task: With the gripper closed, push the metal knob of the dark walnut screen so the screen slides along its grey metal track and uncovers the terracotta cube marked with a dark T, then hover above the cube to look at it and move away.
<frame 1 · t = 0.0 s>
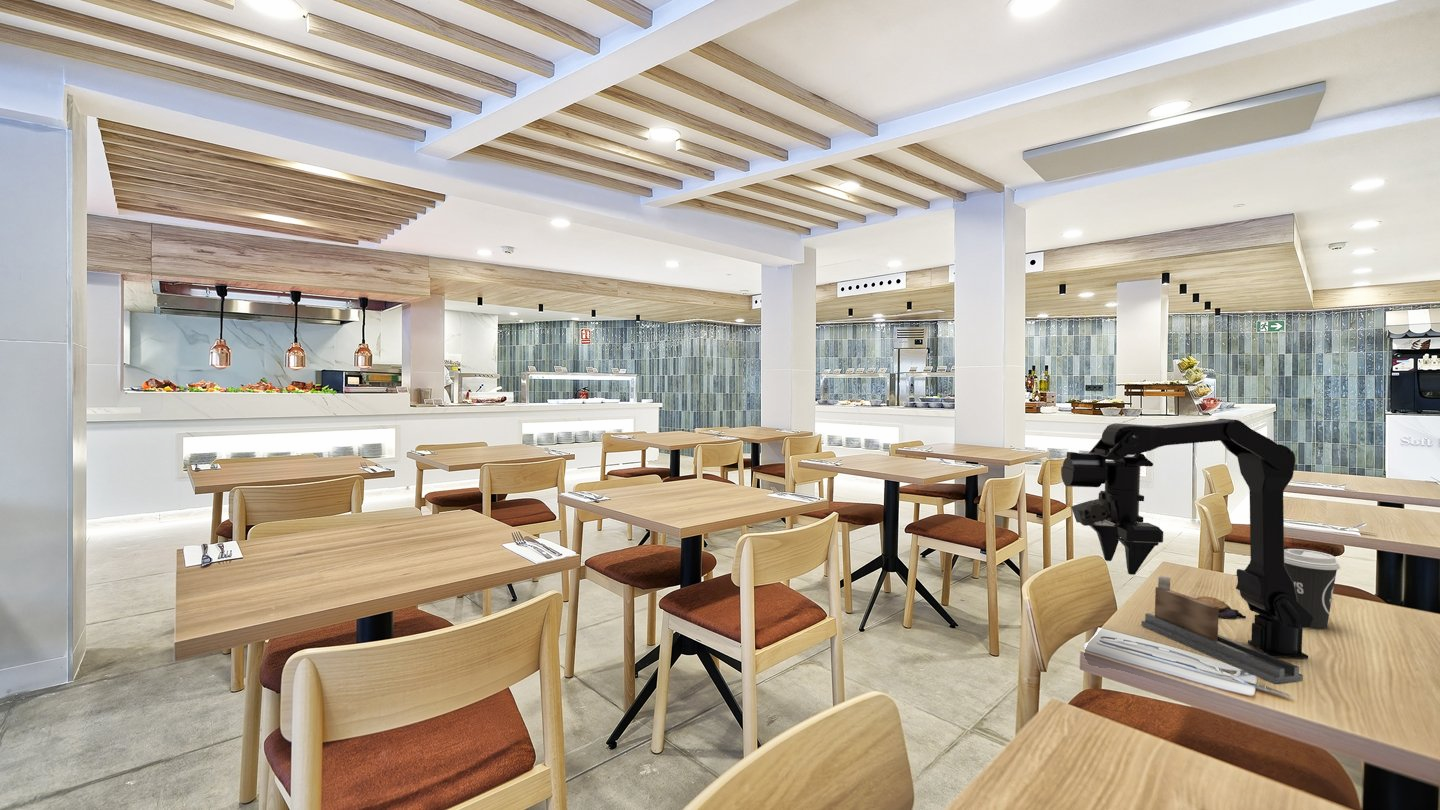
hand: (1119, 567, 122), 15 cm above the table, tool pointing down, fingers open, 9 cm apart
lettered cube: (1184, 625, 132), on the table
screen: (1185, 608, 125), point 6 cm above the table, slide at 0.0 cm
coffee cup: (1306, 624, 133), on the table
track: (1184, 637, 125), on the table
bread roll: (1211, 615, 140), on the table
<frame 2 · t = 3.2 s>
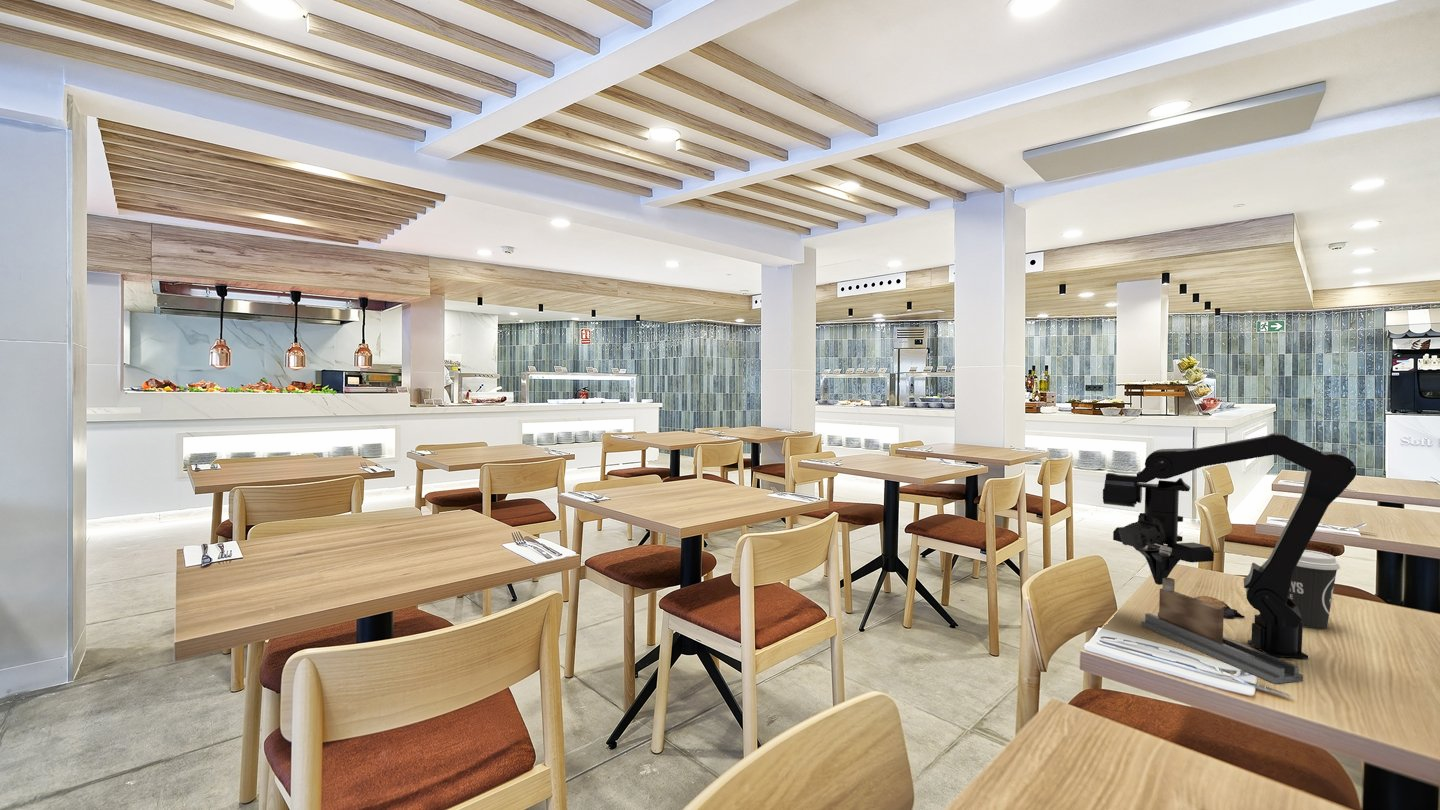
hand: (1159, 584, 130), 9 cm above the table, tool pointing down, fingers closed
screen: (1189, 609, 124), point 6 cm above the table, slide at 1.0 cm, touching gripper
everything else where it was.
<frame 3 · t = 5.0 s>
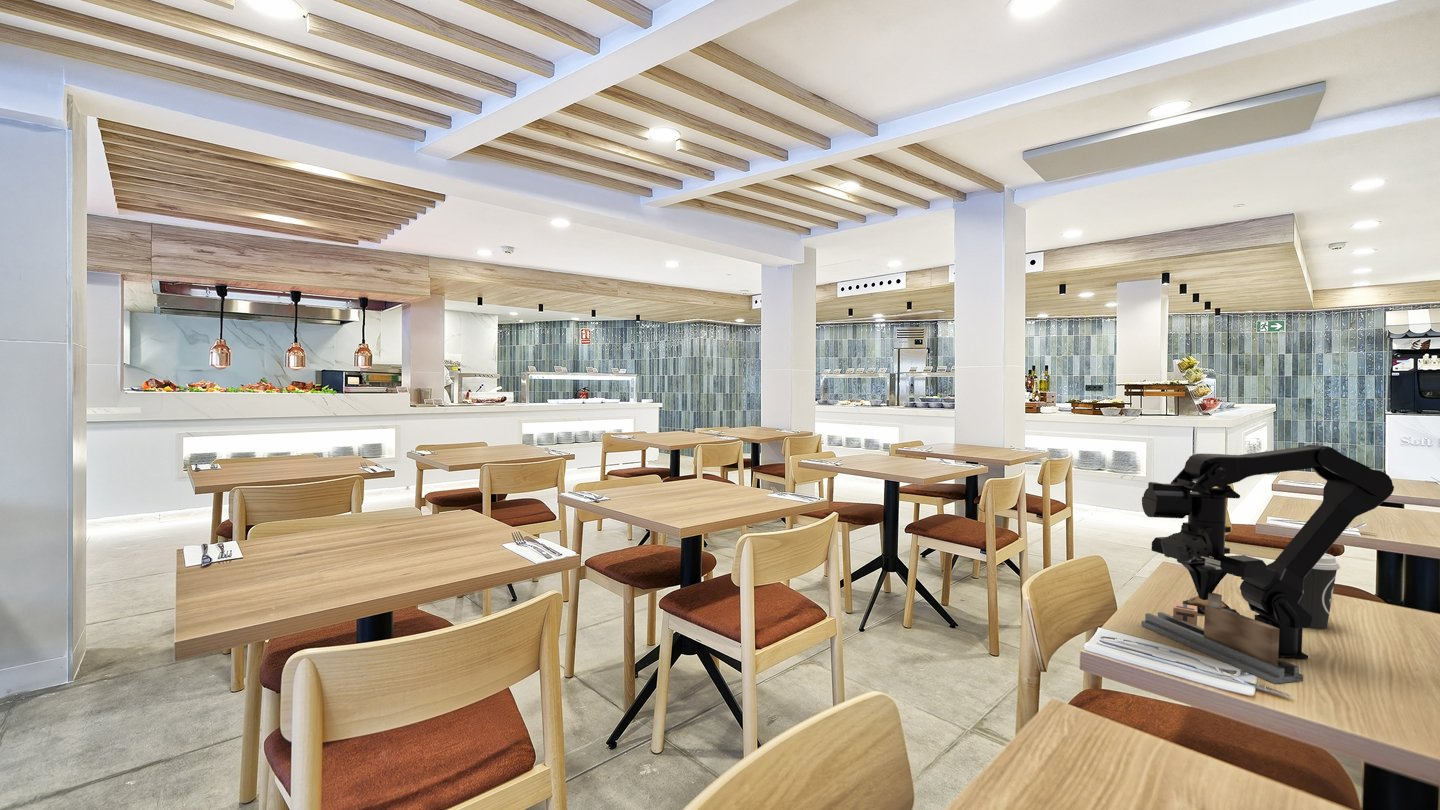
hand: (1203, 599, 121), 9 cm above the table, tool pointing down, fingers closed
screen: (1239, 628, 114), point 6 cm above the table, slide at 10.6 cm, touching gripper
everything else where it was.
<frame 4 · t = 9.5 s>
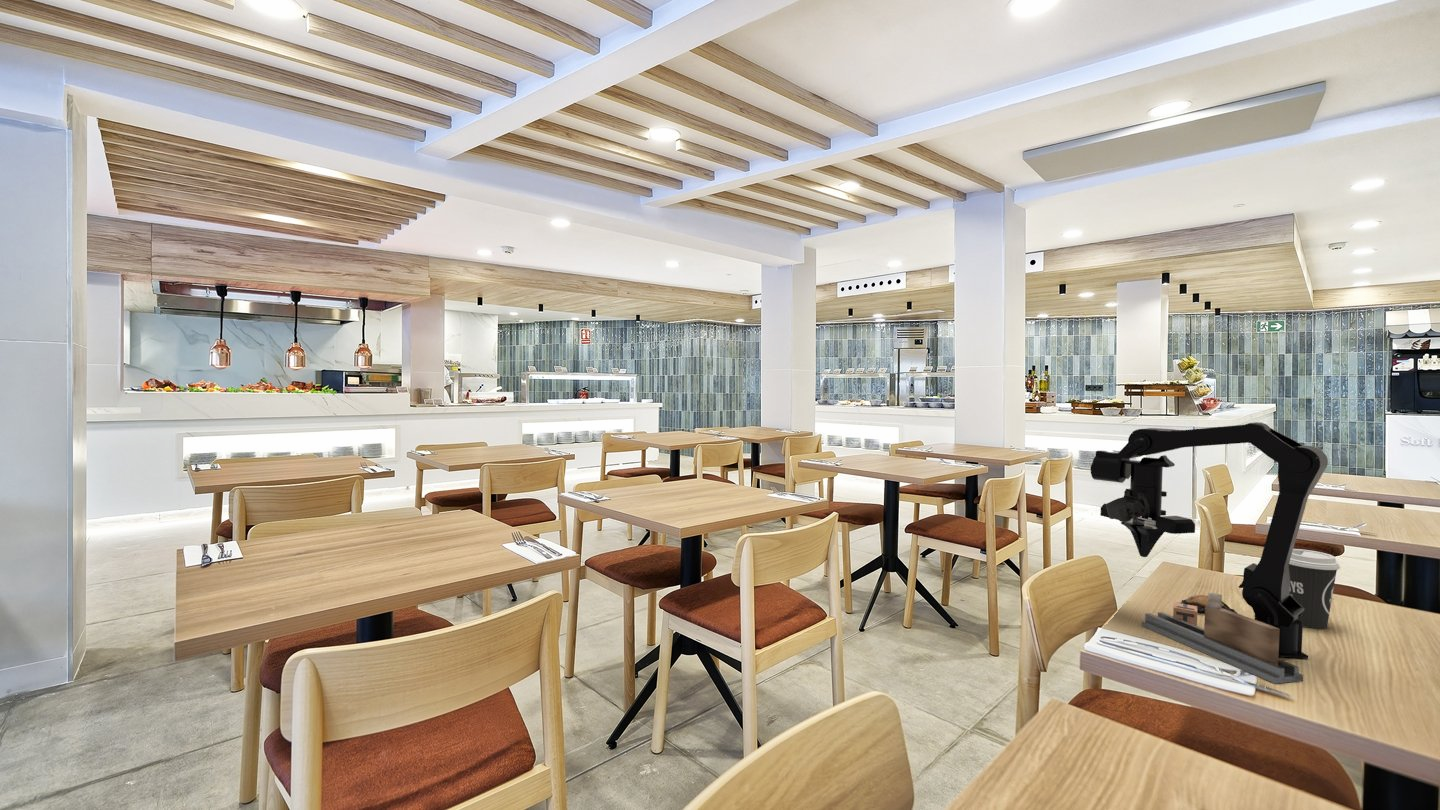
hand: (1143, 556, 137), 13 cm above the table, tool pointing down, fingers closed
screen: (1240, 628, 114), point 6 cm above the table, slide at 10.6 cm
everything else where it was.
at the end: screen slide at 10.6 cm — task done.
